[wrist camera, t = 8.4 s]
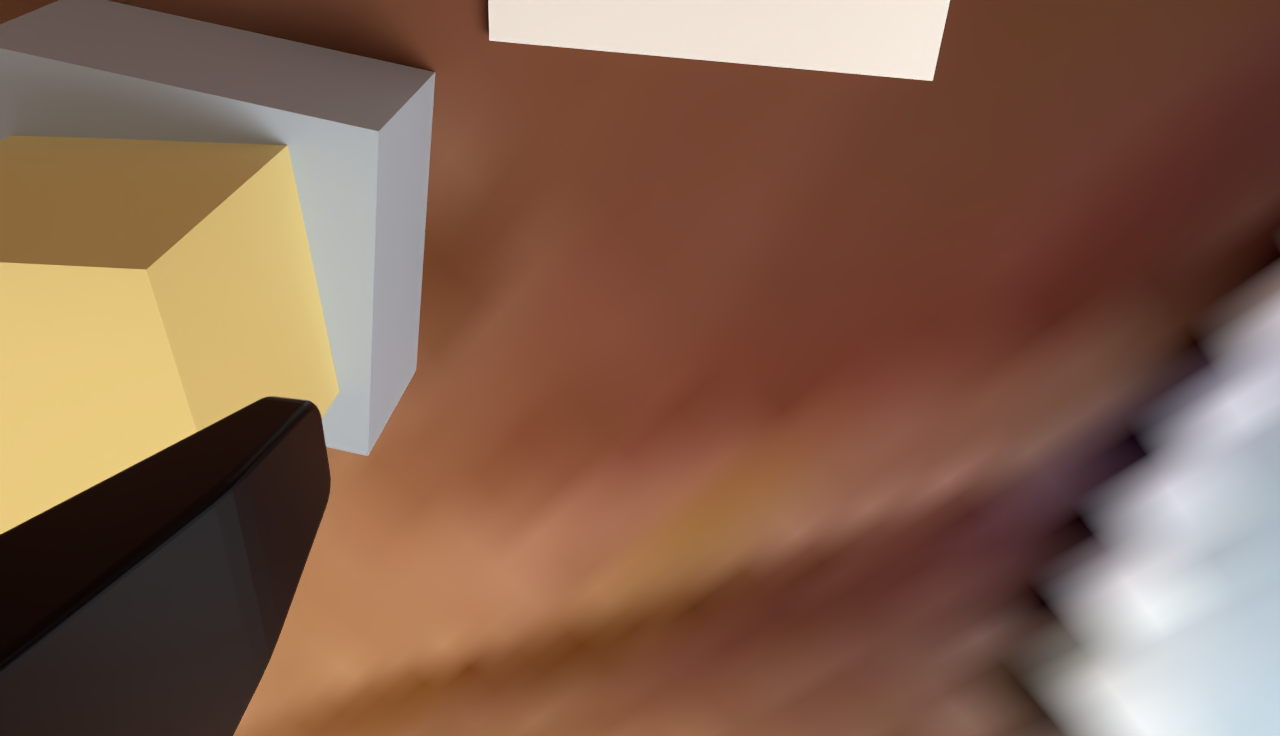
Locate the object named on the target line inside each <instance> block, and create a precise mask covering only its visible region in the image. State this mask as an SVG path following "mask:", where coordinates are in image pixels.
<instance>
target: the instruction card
mask: <svg viewBox="0 0 1280 736" xmlns="http://www.w3.org/2000/svg"><path fill="white" fill-rule="evenodd" d="M949 3H950V0H488V11H489V41H500V42H511V43H522V44H533V45H544V46H555V47H566V48H577V49H588V50H599V51H610V52H621V53H632V54H643V55H654V56H665V57H676V58H687V59H698V60H709V61H720V62H731V63H742V64H753V65H764V66H775V67H786V68H797V69H808V70H819V71H830V72H841V73H852V74H863V75H874V76H885V77H896V78H907V79H918V80H929V81H933V77H934V72H935V67H936V63H937V58H938V54H939V49H940V44H941V40H942V35H943V31H944V26H945V21H946V17H947V12H948V8H949Z"/></svg>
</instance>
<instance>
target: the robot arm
mask: <svg viewBox="0 0 1280 736" xmlns="http://www.w3.org/2000/svg"><path fill="white" fill-rule="evenodd" d="M330 483H331V478H330V470H329V463H328V457H327V450H326V443H325V437H324V430H323V424H322V418H321V414H320V411H319V409H318V407H317V406H316V405H315V404H314V403H313V402H311V401H309V400H302V399H294V398H286V397H277V396H268V397H264V398H262V399H260V400H257V401H256V402H254V403H252V404H250V405H248V406H246V407H244V408H242V409H240V410H238V411H236V412H234V413H233V414H231V415H229V416H227V417H225V418H223V419H221V420H219V421H217V422H215V423H213V424H211V425H209V426H208V427H206V428H204V429H202V430H200V431H198V432H196V433H194V434H192V435H190V436H188V437H186V438H185V439H183V440H181V441H179V442H177V443H175V444H173V445H171V446H169V447H167V448H165V449H163V450H161V451H160V452H158V453H156V454H154V455H152V456H150V457H148V458H146V459H144V460H142V461H140V462H138V463H137V464H135V465H133V466H131V467H129V468H127V469H125V470H123V471H121V472H119V473H117V474H115V475H113V476H112V477H110V478H108V479H106V480H104V481H102V482H100V483H98V484H96V485H94V486H92V487H90V488H89V489H87V490H85V491H83V492H81V493H79V494H77V495H75V496H73V497H71V498H69V499H67V500H65V501H64V502H62V503H60V504H58V505H56V506H54V507H52V508H50V509H48V510H46V511H44V512H42V513H41V514H39V515H37V516H35V517H33V518H31V519H29V520H27V521H25V522H23V523H21V524H19V525H17V526H16V527H14V528H12V529H10V530H8V531H6V532H4V533H2V534H0V736H233V735H234V733H235V731H236V729H237V727H238V725H239V723H240V721H241V719H242V717H243V715H244V713H245V711H246V709H247V707H248V704H249V702H250V700H251V698H252V696H253V694H254V692H255V690H256V688H257V686H258V684H259V682H260V680H261V678H262V676H263V674H264V671H265V669H266V667H267V665H268V663H269V661H270V659H271V656H272V653H273V651H274V648H275V646H276V643H277V641H278V638H279V636H280V633H281V630H282V628H283V625H284V622H285V619H286V617H287V614H288V611H289V608H290V605H291V603H292V600H293V597H294V594H295V592H296V589H297V586H298V583H299V581H300V578H301V575H302V572H303V569H304V567H305V564H306V561H307V558H308V556H309V553H310V550H311V547H312V545H313V542H314V539H315V536H316V534H317V531H318V528H319V525H320V522H321V520H322V517H323V514H324V511H325V509H326V506H327V502H328V498H329V494H330Z"/></svg>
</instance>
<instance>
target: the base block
mask: <svg viewBox="0 0 1280 736" xmlns="http://www.w3.org/2000/svg"><path fill="white" fill-rule="evenodd" d="M434 84H435V72H432V71H427V70H423V69H418V68H414V67H409V66H405V65H400V64H396V63H391V62H386V61H382V60H377V59H373V58H368V57H364V56H359V55H355V54H350V53H345V52H341V51H336V50H332V49H327V48H323V47H318V46H314V45H309V44H304V43H300V42H295V41H291V40H286V39H282V38H277V37H273V36H268V35H263V34H259V33H254V32H250V31H245V30H241V29H236V28H232V27H227V26H222V25H218V24H213V23H209V22H204V21H200V20H195V19H191V18H186V17H181V16H177V15H172V14H168V13H163V12H159V11H154V10H150V9H145V8H140V7H136V6H131V5H127V4H122V3H118V2H113V1H109V0H58V1H56V2H53V3H51V4H48V5H46V6H43V7H41V8H39V9H36V10H34V11H31V12H29V13H26V14H24V15H22V16H19V17H17V18H14V19H12V20H9V21H7V22H5V23H2V24H0V141H1V140H3V139H5V138H7V137H9V136H10V135H19V136H47V137H76V138H104V139H132V140H159V141H187V142H214V143H241V144H269V145H288V150H289V154H290V159H291V164H292V169H293V173H294V178H295V183H296V187H297V192H298V197H299V202H300V206H301V211H302V216H303V220H304V225H305V230H306V234H307V239H308V244H309V249H310V253H311V258H312V263H313V267H314V272H315V277H316V282H317V286H318V291H319V296H320V301H321V305H322V310H323V315H324V320H325V324H326V329H327V334H328V339H329V343H330V348H331V353H332V358H333V363H334V367H335V372H336V377H337V382H338V386H339V393H338V395H337V396H336V398H335V399H334V401H333V402H332V404H331V405H330V407H329V408H328V410H327V411H326V413H325V414H324V416H323V418H322V424H323V430H324V437H325V443H326V447H330V448H334V449H339V450H343V451H348V452H352V453H357V454H361V455H366V456H368V455H369V453H370V452H371V450H372V448H373V446H374V444H375V443H376V441H377V439H378V437H379V435H380V434H381V432H382V430H383V428H384V427H385V425H386V423H387V421H388V419H389V418H390V416H391V414H392V412H393V410H394V409H395V407H396V405H397V403H398V401H399V400H400V398H401V396H402V394H403V393H404V391H405V389H406V387H407V385H408V384H409V382H410V380H411V378H412V376H413V375H414V373H415V371H416V364H417V349H418V333H419V318H420V302H421V287H422V271H423V255H424V240H425V224H426V209H427V193H428V178H429V162H430V147H431V131H432V116H433V100H434Z"/></svg>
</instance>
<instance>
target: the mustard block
mask: <svg viewBox="0 0 1280 736" xmlns="http://www.w3.org/2000/svg"><path fill="white" fill-rule="evenodd" d="M338 393H339V386H338V382H337V377H336V372H335V367H334V363H333V358H332V353H331V348H330V343H329V339H328V334H327V329H326V324H325V320H324V315H323V310H322V305H321V301H320V296H319V291H318V286H317V282H316V277H315V272H314V267H313V263H312V258H311V253H310V249H309V244H308V239H307V234H306V230H305V225H304V220H303V216H302V211H301V206H300V202H299V197H298V192H297V187H296V183H295V178H294V173H293V169H292V164H291V159H290V154H289V150H288V145H269V144H241V143H214V142H187V141H159V140H132V139H104V138H76V137H47V136H19V135H10V136H9V137H7V138H5V139H3V140H1V141H0V534H2V533H4V532H6V531H8V530H10V529H12V528H14V527H16V526H17V525H19V524H21V523H23V522H25V521H27V520H29V519H31V518H33V517H35V516H37V515H39V514H41V513H42V512H44V511H46V510H48V509H50V508H52V507H54V506H56V505H58V504H60V503H62V502H64V501H65V500H67V499H69V498H71V497H73V496H75V495H77V494H79V493H81V492H83V491H85V490H87V489H89V488H90V487H92V486H94V485H96V484H98V483H100V482H102V481H104V480H106V479H108V478H110V477H112V476H113V475H115V474H117V473H119V472H121V471H123V470H125V469H127V468H129V467H131V466H133V465H135V464H137V463H138V462H140V461H142V460H144V459H146V458H148V457H150V456H152V455H154V454H156V453H158V452H160V451H161V450H163V449H165V448H167V447H169V446H171V445H173V444H175V443H177V442H179V441H181V440H183V439H185V438H186V437H188V436H190V435H192V434H194V433H196V432H198V431H200V430H202V429H204V428H206V427H208V426H209V425H211V424H213V423H215V422H217V421H219V420H221V419H223V418H225V417H227V416H229V415H231V414H233V413H234V412H236V411H238V410H240V409H242V408H244V407H246V406H248V405H250V404H252V403H254V402H256V401H257V400H260V399H262V398H264V397H268V396H277V397H286V398H294V399H302V400H309V401H311V402H313V403H314V404H315V405H316V406H317V407H318V409H319V411H320V414H321V418H323V416H324V414H325V413H326V411H327V410H328V408H329V407H330V405H331V404H332V402H333V401H334V399H335V398H336V396H337V395H338Z"/></svg>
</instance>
